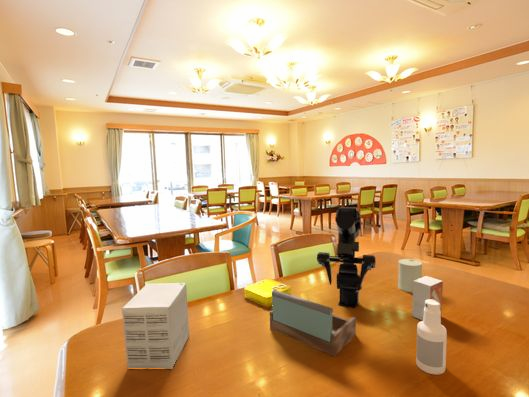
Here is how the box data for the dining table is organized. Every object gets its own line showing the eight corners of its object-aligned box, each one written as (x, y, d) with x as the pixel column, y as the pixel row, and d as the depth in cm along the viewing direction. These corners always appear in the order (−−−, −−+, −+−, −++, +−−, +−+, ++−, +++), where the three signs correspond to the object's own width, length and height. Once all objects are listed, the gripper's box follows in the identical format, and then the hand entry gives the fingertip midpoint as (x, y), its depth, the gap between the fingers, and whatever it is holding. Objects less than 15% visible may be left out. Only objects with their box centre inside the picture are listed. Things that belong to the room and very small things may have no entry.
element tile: (267, 287, 140) (267, 276, 140) (293, 296, 130) (293, 285, 129) (242, 297, 130) (242, 286, 129) (268, 308, 119) (267, 296, 119)
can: (422, 286, 134) (423, 259, 133) (420, 294, 126) (421, 265, 125) (399, 282, 139) (400, 256, 138) (396, 290, 131) (396, 262, 130)
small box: (429, 323, 104) (430, 286, 102) (411, 316, 109) (412, 280, 108) (442, 316, 108) (443, 280, 107) (424, 309, 114) (425, 275, 112)
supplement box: (150, 335, 102) (146, 282, 100) (190, 335, 102) (187, 282, 100) (125, 370, 85) (119, 307, 83) (173, 370, 85) (169, 307, 82)
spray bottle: (411, 359, 86) (412, 297, 84) (434, 357, 86) (436, 295, 84) (425, 376, 79) (427, 309, 77) (451, 374, 79) (454, 307, 77)
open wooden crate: (293, 313, 114) (293, 297, 113) (355, 335, 98) (355, 317, 98) (270, 328, 104) (269, 311, 103) (334, 356, 88) (334, 336, 88)
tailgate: (276, 317, 104) (275, 288, 103) (333, 339, 90) (332, 306, 89) (272, 320, 102) (271, 290, 101) (329, 343, 88) (329, 309, 87)
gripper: (316, 230, 104) (312, 277, 97) (375, 232, 98) (376, 282, 91) (320, 242, 113) (317, 285, 106) (374, 244, 107) (375, 290, 101)
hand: (344, 285), depth 101 cm, fingers open, 9 cm apart
